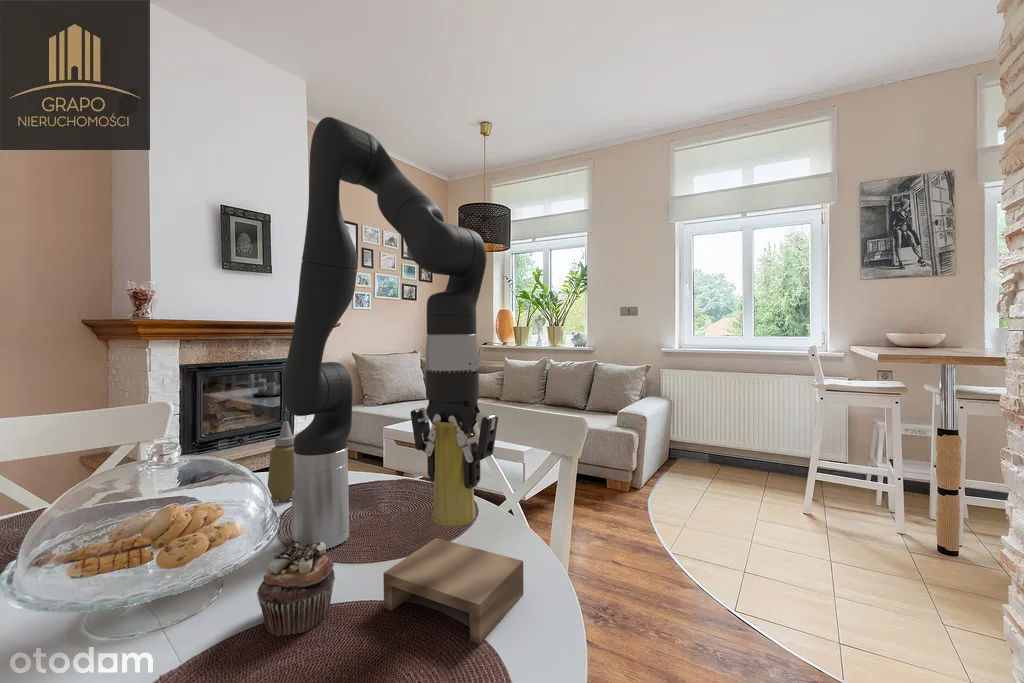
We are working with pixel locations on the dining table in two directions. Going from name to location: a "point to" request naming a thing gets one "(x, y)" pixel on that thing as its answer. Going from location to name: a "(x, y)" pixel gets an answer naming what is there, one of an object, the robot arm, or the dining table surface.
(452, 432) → the vase
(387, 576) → the walnut shelf
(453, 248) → the robot arm
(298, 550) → the cupcake
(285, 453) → the squeeze bottle
